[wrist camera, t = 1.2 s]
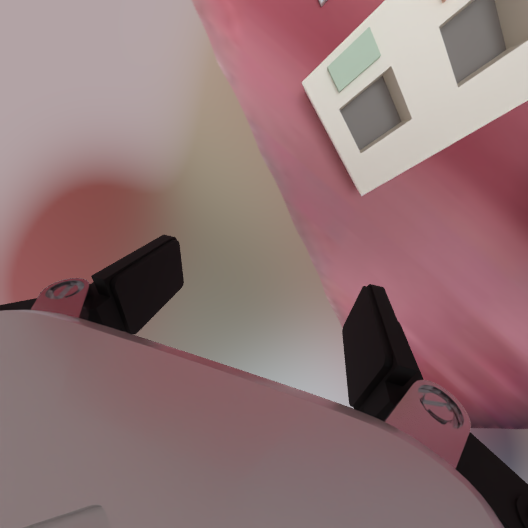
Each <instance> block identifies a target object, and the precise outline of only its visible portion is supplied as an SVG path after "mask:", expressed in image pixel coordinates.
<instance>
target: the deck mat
mask: <svg viewBox="0 0 528 528" xmlns="http://www.w3.org/2000/svg"><path fill="white" fill-rule="evenodd" d="M318 1H319V3H320V5H321V7H322V6H323V5H324V4H325V2H326V1H327V0H318Z"/></svg>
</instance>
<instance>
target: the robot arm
mask: <svg viewBox="0 0 528 528" xmlns="http://www.w3.org/2000/svg"><path fill="white" fill-rule="evenodd" d="M92 279H93V281H94V282H93V283H92V284H89V282H88V281H87V280H85V279H81V278H70V279H65V280H61V281H59V282H55V283H53V284H51V285H49V286H48V287H46V288H45V289H44V290H43V291H42V292H41V293H40V294H39V296H38V298H36V299H30V300H26V301H20V302H15V303H9V304H5V305H0V528H528V484H527V483H525V481H523V480H522V479H521V478H520V477H519V476H518V475H517V474H516V473H515V472H514V471H512V470H511V469H510V468H509V467H508V466H507V465H506V464H505V463H503V461H501V460H500V459H499V458H498V457H497V456H496V455H494V453H492V452H491V451H490V450H489V449H488V448H487V447H486V446H485V445H484V444H483V443H481V442H480V441H479V440H478V439H477V438H476V437H475V436H474V435H473V434H472V433H470V428H471V423H470V419H469V416H468V414H467V413H466V411H465V409H464V408H463V406H462V405H461V404H460V403H459V401H458V400H457V399H456V398H455V397H454V396H453V395H452V394H451V393H449V392H448V391H447V390H446V389H444V388H443V387H441V386H440V385H438V384H436V383H433V382H431V381H427V380H423V377H422V375H421V372H420V370H419V368H418V365H417V363H416V361H415V358H414V356H413V353H412V351H411V349H410V346H409V344H408V341H407V339H406V337H405V334H404V332H403V329H402V327H401V325H400V323H399V322H398V321H397V318H396V316H395V314H394V311H393V309H392V306H391V304H390V301H389V299H388V297H387V294H386V292H385V289H384V288H383V287H380V286H375V285H371V284H369V285H368V286H367V287H366V286H364V287H363V288H362V290H361V292H360V294H359V296H358V298H357V300H356V302H355V304H354V306H353V308H352V310H351V312H350V314H349V316H348V318H347V320H346V322H345V324H344V326H343V331H342V332H343V344H344V354H345V365H346V375H347V386H348V397H349V404H350V406H352V407H354V409H353V408H350V407H347V406H344V405H342V404H339V403H336V402H333V401H330V400H327V399H325V398H322V397H319V396H316V395H313V394H310V393H307V392H305V391H302V390H298V389H296V388H293V387H290V386H287V385H284V384H281V383H278V382H275V381H272V380H269V379H266V378H263V377H260V376H257V375H254V374H251V373H248V372H245V371H242V370H239V369H236V368H233V367H230V366H227V365H224V364H221V363H218V362H215V361H212V360H209V359H206V358H203V357H200V356H197V355H194V354H191V353H188V352H185V351H182V350H178V349H175V348H172V347H169V346H166V345H163V344H160V343H157V342H154V341H151V340H148V339H145V338H141V337H138V336H135V335H133V334H136V333H137V332H138V331H139V330H140V329H141V328H142V327H143V326H144V325H145V324H146V323H147V322H148V321H149V320H150V319H151V318H152V317H153V316H154V315H155V314H156V313H157V312H158V311H159V310H160V309H161V308H162V307H163V306H164V305H165V304H166V303H167V302H168V301H169V300H170V299H171V298H172V297H173V296H174V295H175V294H176V293H177V292H178V291H179V290H180V289H181V288H182V286H183V283H184V281H183V272H182V262H181V254H180V245H179V242H178V241H177V239H176V238H175V237H171V236H167V235H162V236H160V237H159V238H157V239H155V240H153V241H152V242H150V243H148V244H146V245H145V246H143V247H141V248H139V249H138V250H136V251H134V252H132V253H131V254H129V255H127V256H125V257H124V258H122V259H120V260H118V261H117V262H115V263H113V264H111V265H110V266H108V267H106V268H104V269H103V270H101V271H99V272H97V273H96V274H94V275H92Z"/></svg>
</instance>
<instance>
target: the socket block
mask: <svg viewBox="0 0 528 528" xmlns="http://www.w3.org/2000/svg"><path fill="white" fill-rule="evenodd" d="M302 85H303V87H304V90H305V93H306V94H307V96H308V98H309V100H310V102H311V104H312V106H313V108H314V110H315V111H316V113H317V115H318V117H319V119H320V121H321V123H322V125H323V126H324V128H325V130H326V132H327V134H328V136H329V138H330V140H331V142H332V143H333V145H334V147H335V149H336V151H337V153H338V155H339V157H340V159H341V160H342V162H343V164H344V166H345V168H346V170H347V172H348V174H349V176H350V177H351V179H352V181H353V183H354V185H355V187H356V189H357V190H358V192H359V193H360V195H361V196H363V195H364V194H366V193H368V192H370V191H371V190H373V189H375V188H377V187H378V186H380V185H382V184H384V183H385V182H387V181H389V180H391V179H392V178H394V177H396V176H397V175H399V174H401V173H403V172H404V171H406V170H408V169H410V168H411V167H413V166H415V165H417V164H418V163H420V162H422V161H423V160H425V159H427V158H429V157H430V156H432V155H434V154H436V153H437V152H439V151H441V150H443V149H444V148H446V147H448V146H450V145H451V144H453V143H455V142H456V141H458V140H460V139H462V138H463V137H465V136H467V135H469V134H470V133H472V132H474V131H476V130H477V129H479V128H481V127H482V126H484V125H486V124H488V123H489V122H491V121H493V120H495V119H496V118H498V117H500V116H502V115H503V114H505V113H507V112H508V111H510V110H512V109H514V108H515V107H517V106H519V105H521V104H522V103H524V102H526V101H528V0H385V1H384V2H383V3H382V4H381V5H380V6H379V7H378V8H377V9H376V10H375V11H374V12H373V13H372V14H371V15H370V16H369V17H368V18H367V19H366V20H365V21H364V22H362V23H361V24H360V25H359V26H358V27H357V28H356V29H355V30H354V31H353V32H352V33H351V34H350V35H349V36H348V37H347V38H346V39H345V40H344V41H343V42H342V43H341V44H340V45H339V46H338V47H337V48H336V49H335V50H334V51H333V52H332V53H331V54H330V55H329V56H328V57H327V58H326V59H325V60H324V61H323V62H322V63H321V64H320V65H319V66H318V67H317V68H316V69H315V70H314V71H313V72H312V73H311V74H310V75H309V76H308V77H307V78H306V79H305V80H304V81H303V82H302Z"/></svg>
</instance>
